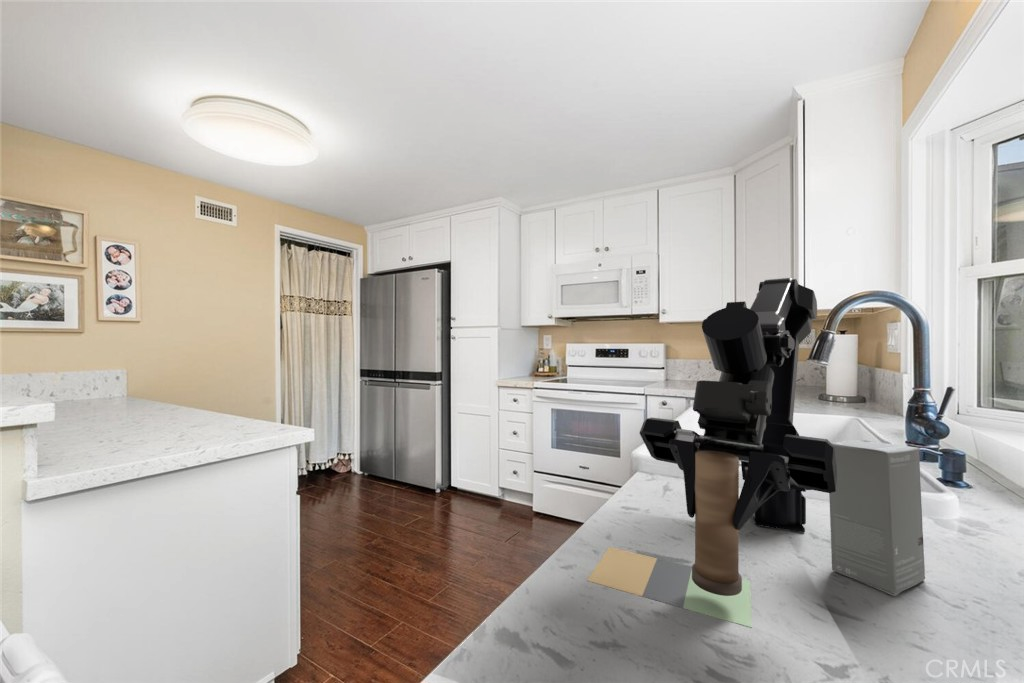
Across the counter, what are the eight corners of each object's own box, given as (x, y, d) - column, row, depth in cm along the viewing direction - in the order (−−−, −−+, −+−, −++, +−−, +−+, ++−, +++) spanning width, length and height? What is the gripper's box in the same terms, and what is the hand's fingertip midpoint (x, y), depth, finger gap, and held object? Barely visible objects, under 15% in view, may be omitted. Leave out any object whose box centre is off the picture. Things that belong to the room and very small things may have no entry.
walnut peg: (700, 594, 41) (701, 460, 41) (686, 569, 46) (686, 449, 46) (750, 597, 41) (750, 462, 41) (730, 571, 45) (730, 450, 45)
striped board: (587, 591, 47) (587, 580, 47) (609, 556, 55) (609, 546, 55) (751, 640, 39) (751, 627, 39) (750, 591, 47) (750, 580, 47)
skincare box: (895, 599, 46) (895, 454, 46) (822, 568, 52) (822, 441, 52) (929, 580, 50) (929, 446, 50) (857, 553, 56) (857, 435, 56)
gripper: (646, 352, 52) (601, 458, 44) (834, 355, 40) (820, 504, 32) (670, 408, 58) (634, 511, 50) (840, 426, 46) (830, 568, 38)
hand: (712, 521), depth 42 cm, fingers closed on walnut peg, 4 cm apart
